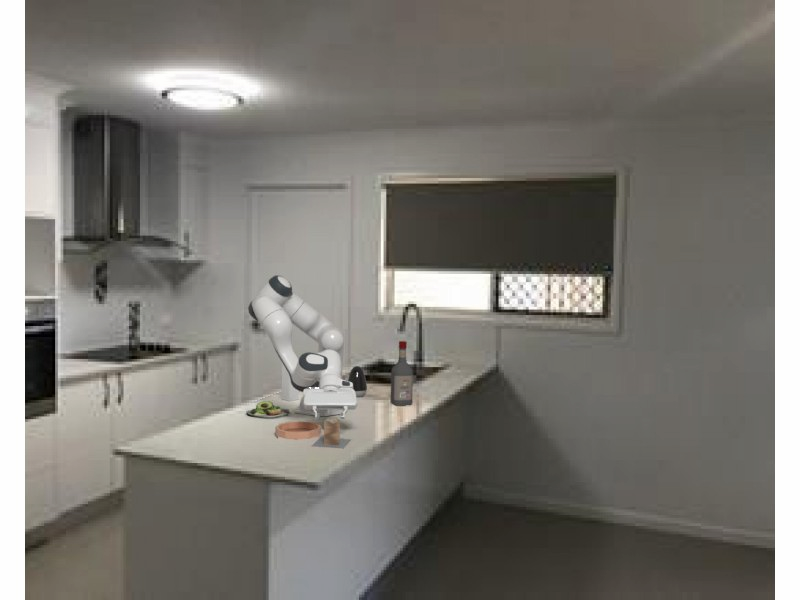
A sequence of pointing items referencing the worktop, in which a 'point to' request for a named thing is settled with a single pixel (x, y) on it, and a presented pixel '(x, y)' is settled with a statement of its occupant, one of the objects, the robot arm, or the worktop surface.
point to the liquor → (401, 379)
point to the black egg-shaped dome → (358, 381)
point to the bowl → (298, 430)
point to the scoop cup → (331, 431)
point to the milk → (288, 387)
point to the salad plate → (267, 411)
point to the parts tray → (321, 444)
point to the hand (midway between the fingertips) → (330, 418)
